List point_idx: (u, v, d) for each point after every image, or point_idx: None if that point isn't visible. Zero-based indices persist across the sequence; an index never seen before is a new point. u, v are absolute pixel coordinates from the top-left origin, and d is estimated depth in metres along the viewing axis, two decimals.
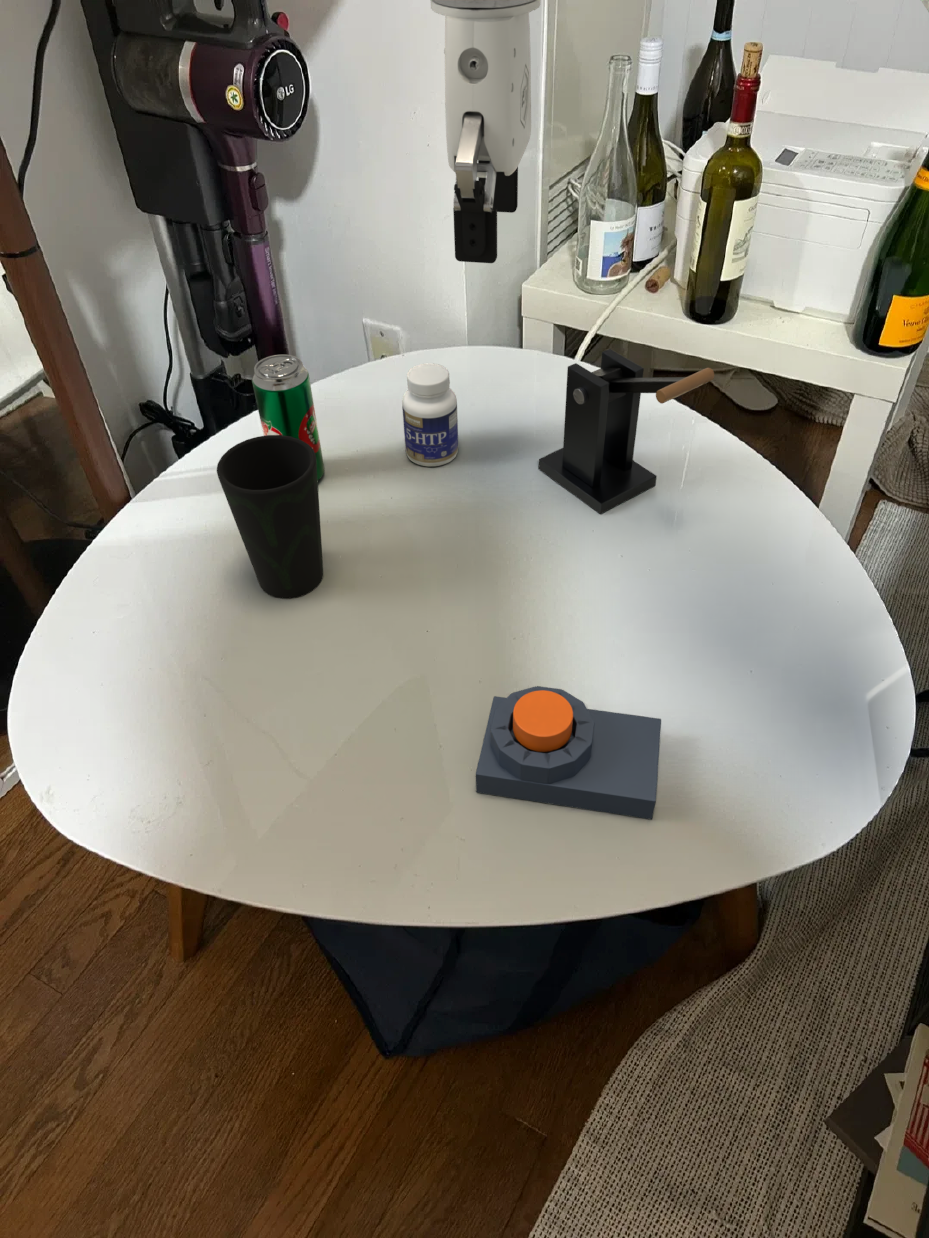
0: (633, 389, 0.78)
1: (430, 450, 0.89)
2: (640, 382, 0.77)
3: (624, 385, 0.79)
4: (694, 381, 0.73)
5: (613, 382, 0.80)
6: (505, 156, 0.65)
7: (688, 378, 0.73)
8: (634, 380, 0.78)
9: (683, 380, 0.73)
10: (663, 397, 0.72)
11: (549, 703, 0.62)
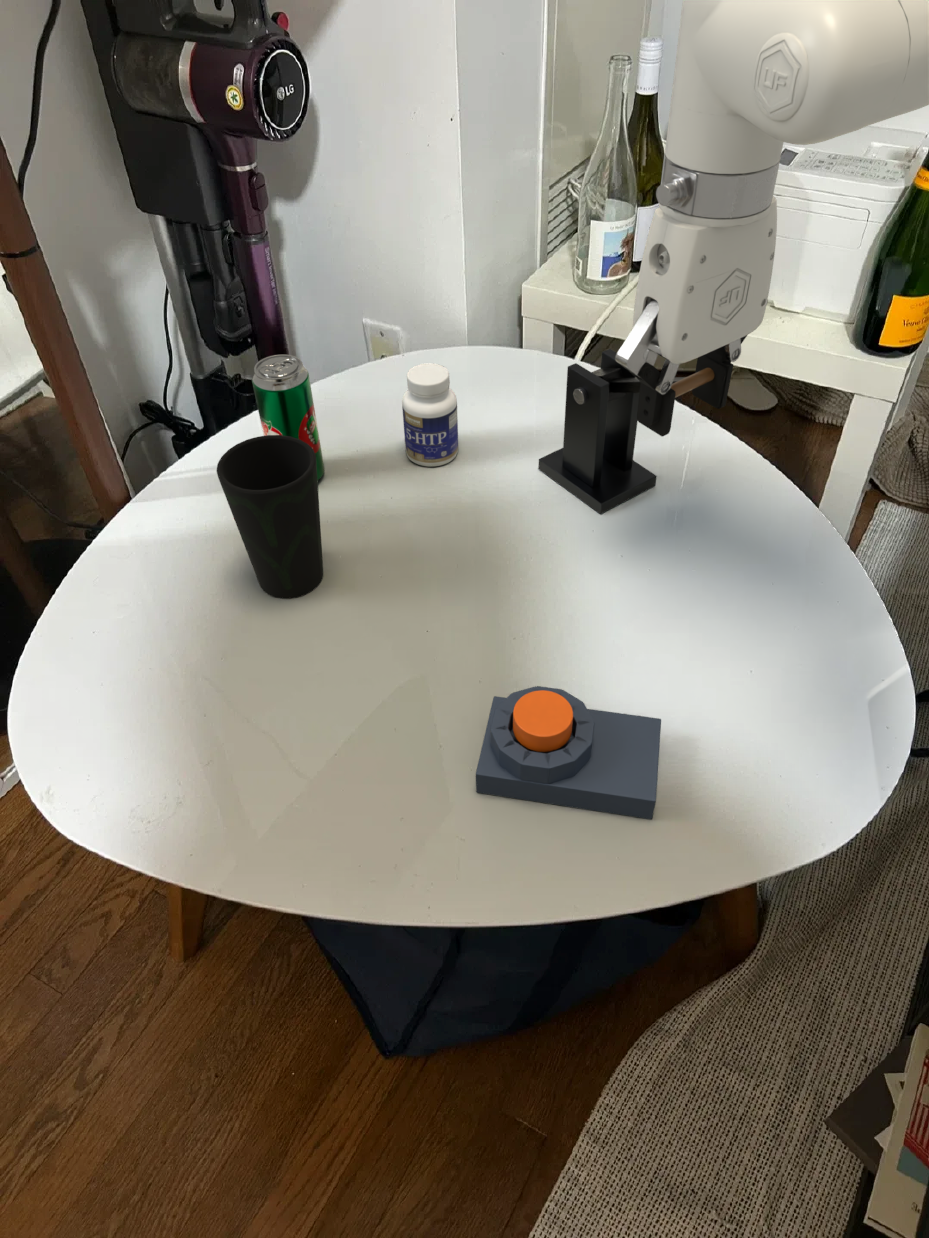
0: (633, 389, 0.78)
1: (430, 450, 0.89)
2: (640, 382, 0.77)
3: (624, 385, 0.79)
4: (694, 381, 0.73)
5: (613, 382, 0.80)
6: (671, 347, 0.66)
7: (688, 378, 0.73)
8: (634, 380, 0.78)
9: (683, 380, 0.73)
10: None
11: (549, 703, 0.62)
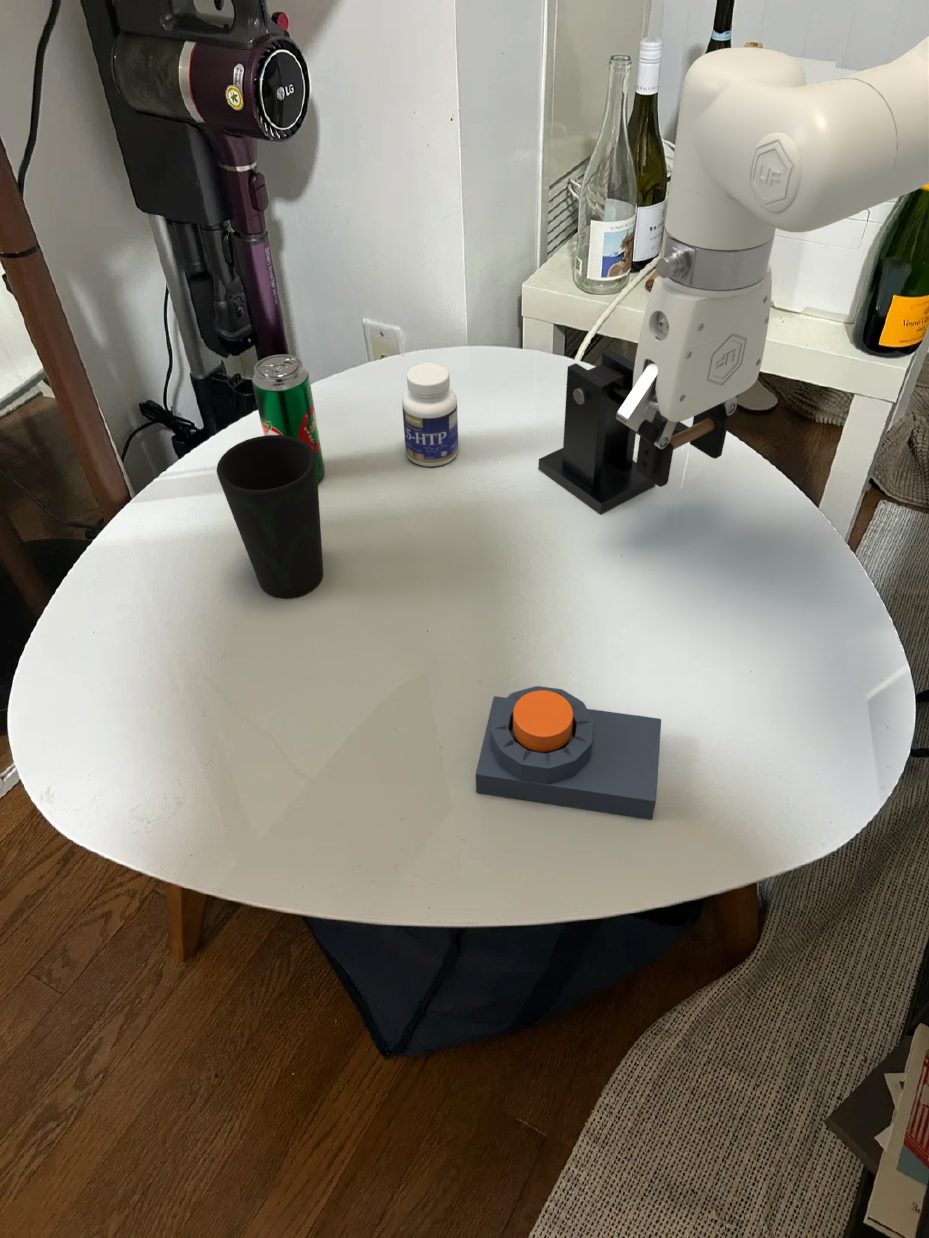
0: None
1: (430, 450, 0.89)
2: None
3: None
4: (695, 435, 0.76)
5: (615, 392, 0.80)
6: (669, 407, 0.69)
7: (691, 431, 0.75)
8: None
9: (686, 433, 0.75)
10: None
11: (549, 703, 0.62)
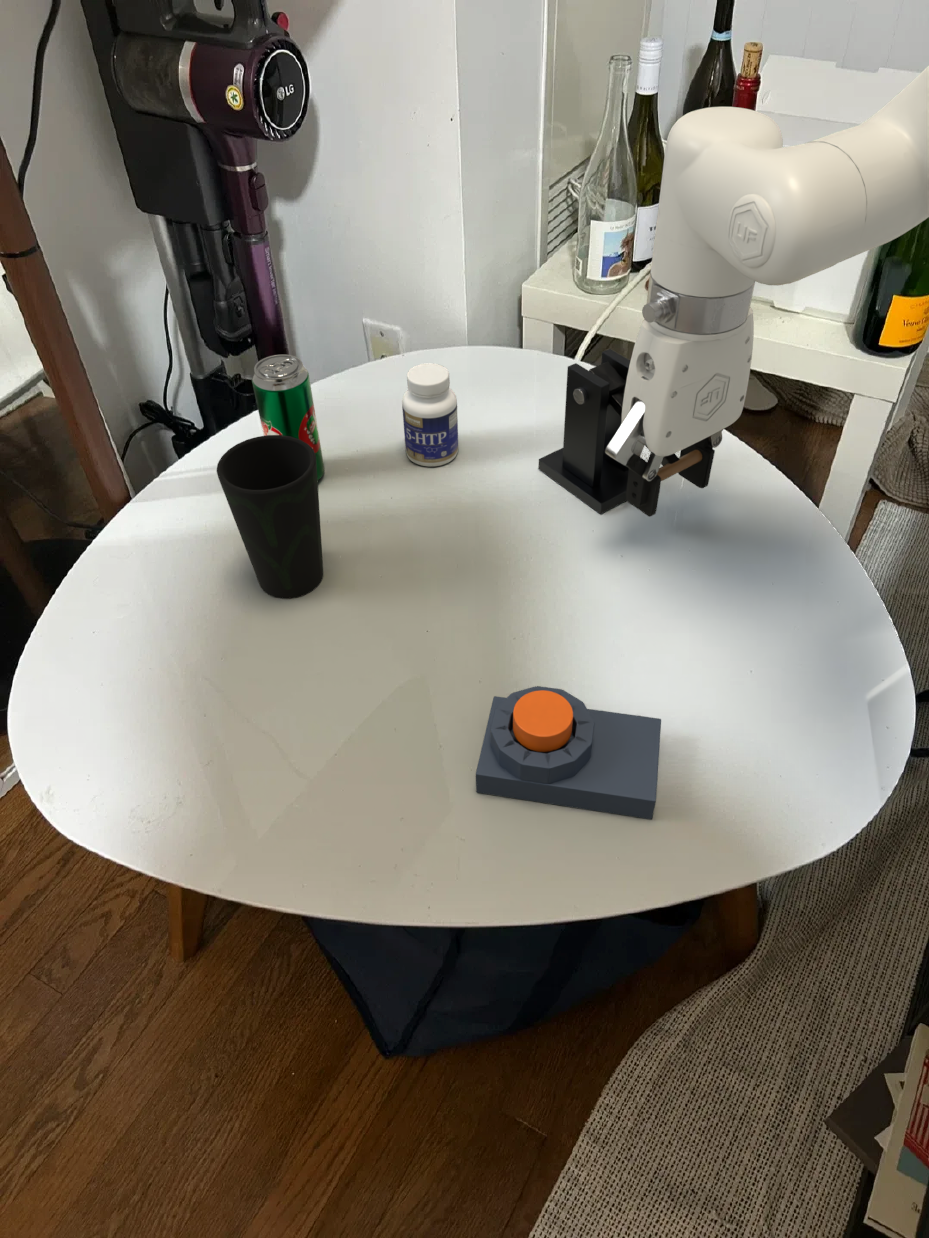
0: None
1: (430, 450, 0.89)
2: None
3: None
4: (684, 468, 0.79)
5: (615, 399, 0.80)
6: (656, 442, 0.72)
7: (681, 464, 0.78)
8: None
9: (676, 466, 0.78)
10: None
11: (549, 703, 0.62)
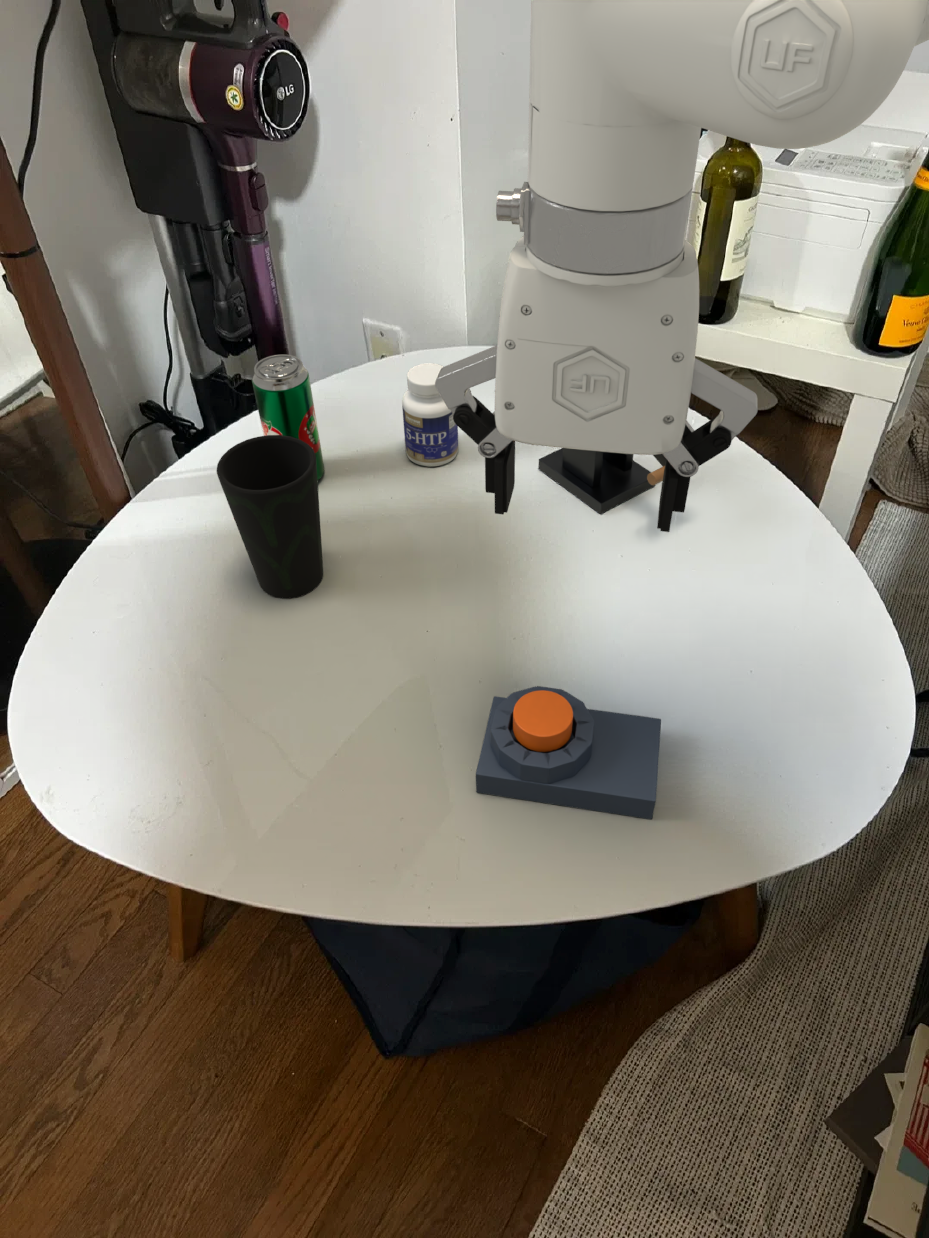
0: None
1: (430, 450, 0.89)
2: None
3: None
4: None
5: None
6: (496, 412, 0.49)
7: None
8: None
9: None
10: (653, 482, 0.78)
11: (549, 703, 0.62)
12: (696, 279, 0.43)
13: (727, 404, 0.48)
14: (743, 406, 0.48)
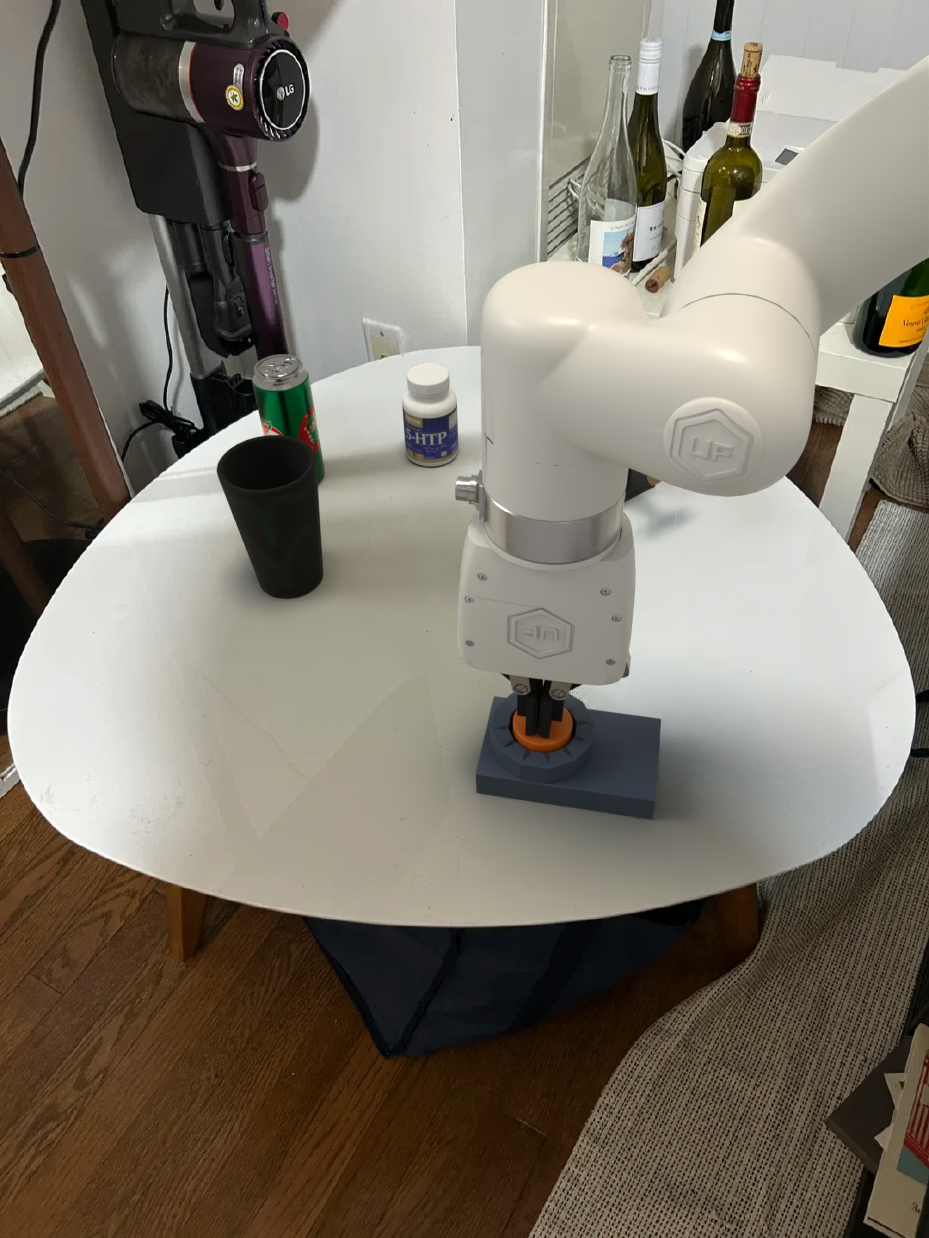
0: None
1: (430, 450, 0.89)
2: None
3: None
4: None
5: None
6: None
7: None
8: None
9: None
10: (653, 482, 0.78)
11: None
12: (631, 558, 0.49)
13: None
14: None
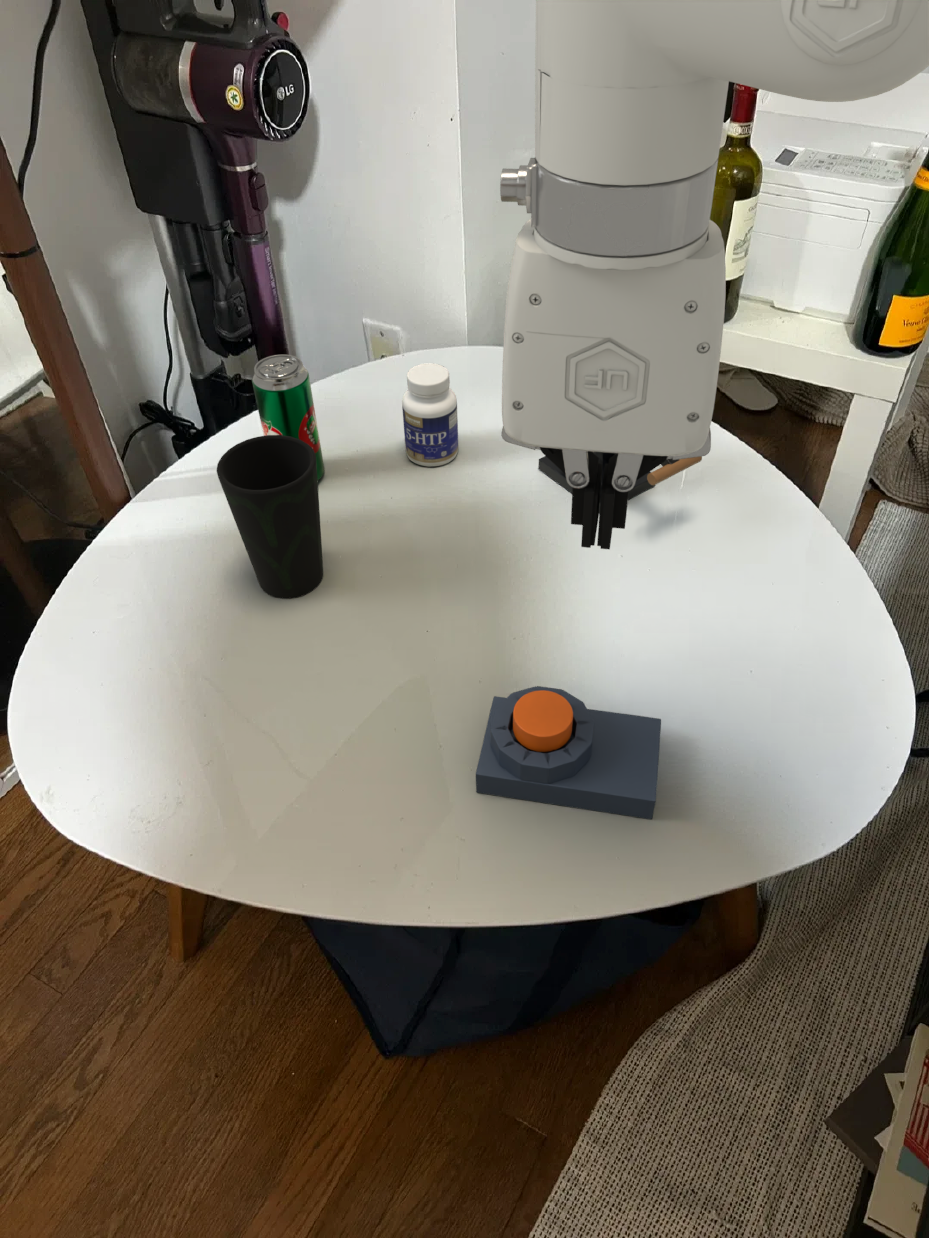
0: None
1: (430, 450, 0.89)
2: None
3: None
4: (683, 468, 0.79)
5: None
6: None
7: (680, 465, 0.78)
8: None
9: (676, 467, 0.78)
10: (653, 482, 0.78)
11: (549, 703, 0.62)
12: (723, 261, 0.39)
13: None
14: None
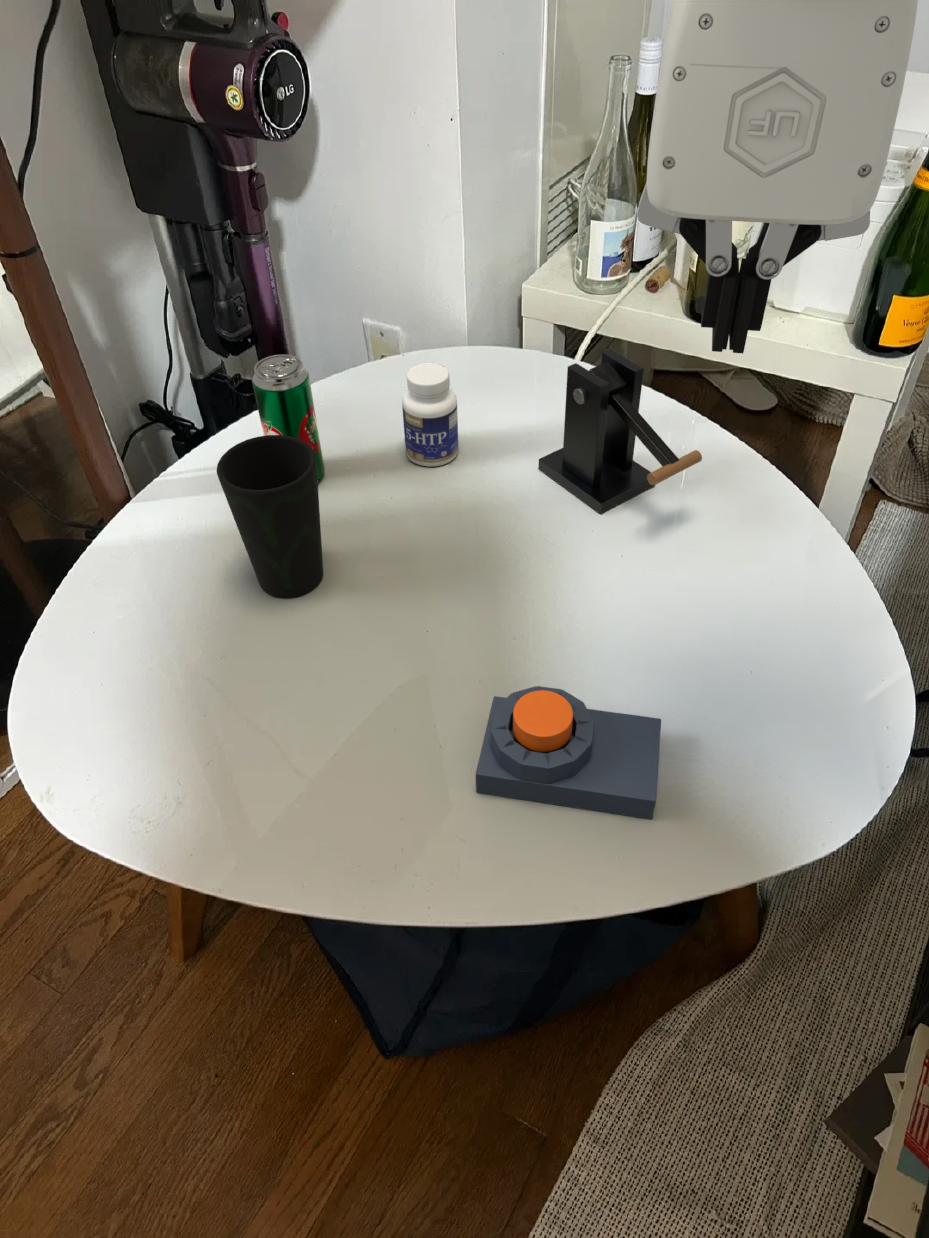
0: (629, 424, 0.80)
1: (430, 450, 0.89)
2: (639, 428, 0.79)
3: (623, 413, 0.80)
4: (683, 468, 0.79)
5: (615, 400, 0.80)
6: (650, 175, 0.42)
7: (680, 465, 0.78)
8: (634, 417, 0.80)
9: (676, 467, 0.78)
10: (653, 482, 0.78)
11: (549, 703, 0.62)
12: None
13: None
14: (860, 217, 0.43)
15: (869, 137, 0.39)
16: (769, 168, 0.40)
